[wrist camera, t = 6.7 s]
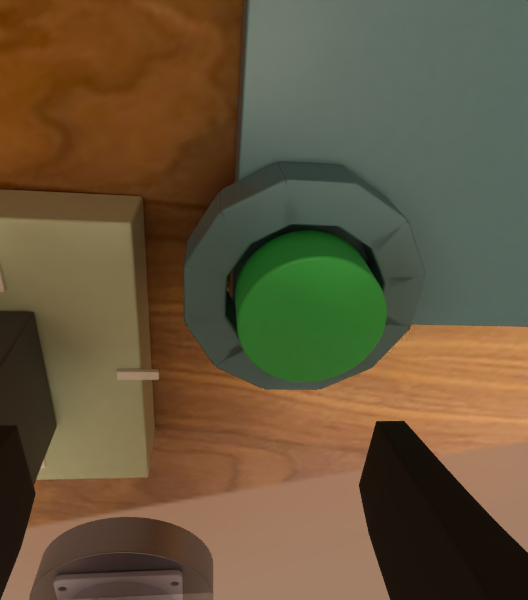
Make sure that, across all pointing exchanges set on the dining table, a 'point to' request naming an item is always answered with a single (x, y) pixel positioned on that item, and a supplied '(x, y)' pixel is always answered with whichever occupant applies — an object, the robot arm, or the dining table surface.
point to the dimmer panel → (85, 324)
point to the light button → (308, 307)
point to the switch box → (376, 162)
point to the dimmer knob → (25, 386)
